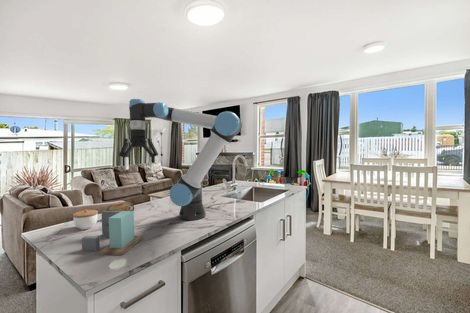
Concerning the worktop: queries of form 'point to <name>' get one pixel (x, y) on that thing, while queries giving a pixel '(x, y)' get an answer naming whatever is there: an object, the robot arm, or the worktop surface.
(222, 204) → the worktop surface
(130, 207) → the tin
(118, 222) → the block
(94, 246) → the module cradle
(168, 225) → the worktop surface
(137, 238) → the walnut board
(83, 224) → the lidded jar
